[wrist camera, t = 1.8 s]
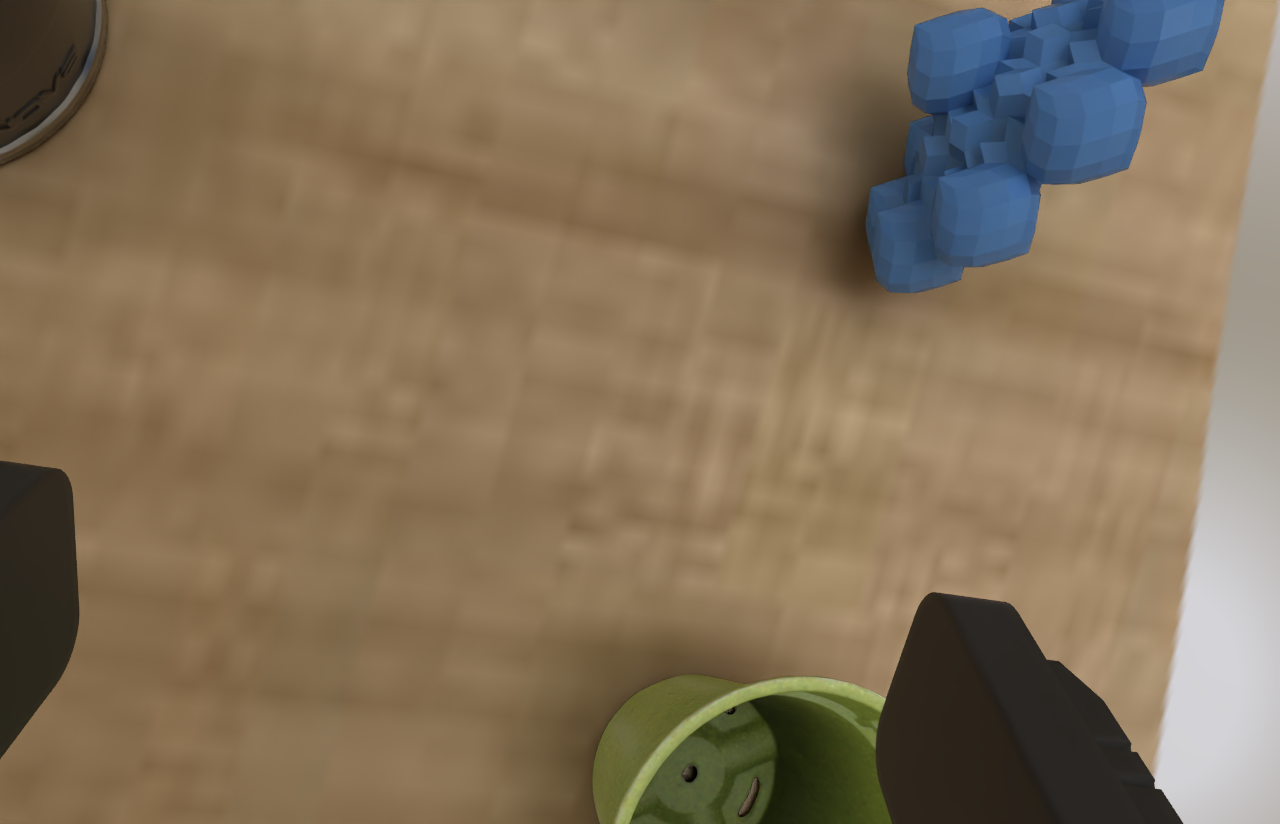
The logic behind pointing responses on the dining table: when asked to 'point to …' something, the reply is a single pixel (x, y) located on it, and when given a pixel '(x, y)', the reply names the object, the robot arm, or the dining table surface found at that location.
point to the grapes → (1020, 123)
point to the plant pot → (742, 753)
